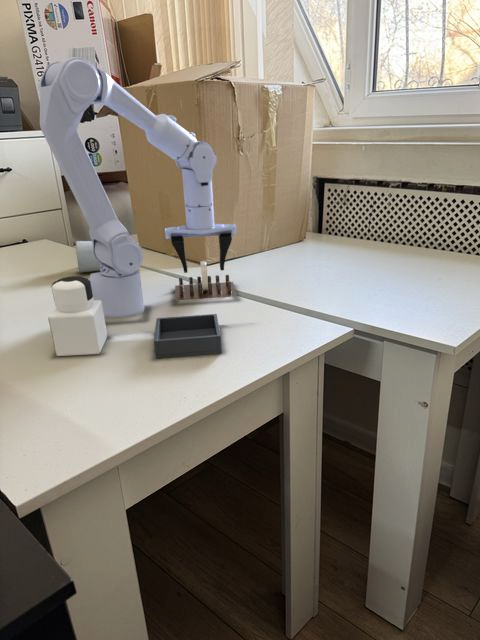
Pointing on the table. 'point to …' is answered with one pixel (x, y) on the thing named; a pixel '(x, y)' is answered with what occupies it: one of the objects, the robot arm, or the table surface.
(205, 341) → the dark grey open box
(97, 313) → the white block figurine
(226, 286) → the dish rack
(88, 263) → the ceramic mug
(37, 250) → the table surface
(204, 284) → the saucer
